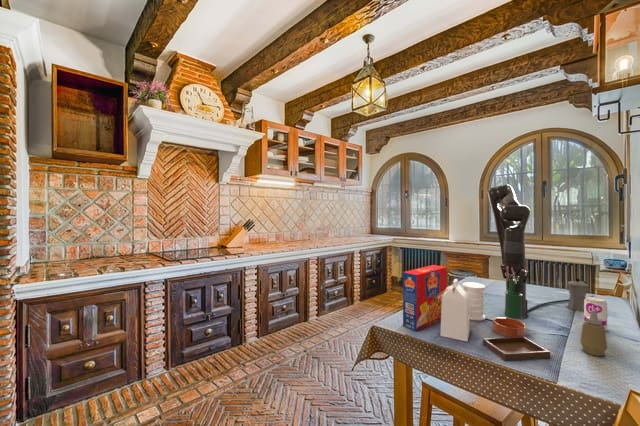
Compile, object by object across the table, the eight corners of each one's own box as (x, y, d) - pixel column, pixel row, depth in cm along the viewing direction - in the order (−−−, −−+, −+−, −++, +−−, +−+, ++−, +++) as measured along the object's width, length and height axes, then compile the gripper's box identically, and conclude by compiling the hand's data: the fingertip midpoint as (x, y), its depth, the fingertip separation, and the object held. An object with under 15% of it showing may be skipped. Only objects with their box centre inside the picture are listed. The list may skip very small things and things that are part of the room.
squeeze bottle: (574, 348, 123) (575, 307, 122) (592, 347, 124) (592, 306, 123) (594, 358, 115) (595, 314, 114) (612, 357, 115) (613, 313, 115)
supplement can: (602, 333, 137) (603, 302, 136) (580, 327, 144) (581, 297, 144) (609, 330, 140) (610, 299, 140) (588, 323, 148) (588, 295, 147)
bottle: (514, 313, 127) (515, 277, 126) (525, 318, 121) (526, 281, 120) (501, 314, 126) (502, 278, 126) (512, 319, 120) (512, 281, 120)
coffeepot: (580, 313, 162) (581, 281, 162) (561, 307, 171) (562, 277, 171) (595, 309, 168) (596, 278, 168) (576, 303, 177) (576, 275, 177)
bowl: (511, 326, 145) (511, 316, 145) (532, 338, 132) (532, 327, 132) (486, 327, 144) (486, 317, 144) (505, 339, 131) (506, 329, 131)
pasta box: (416, 331, 141) (416, 275, 140) (403, 325, 147) (403, 272, 147) (446, 317, 158) (446, 267, 157) (433, 312, 164) (433, 264, 164)
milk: (467, 341, 130) (467, 285, 129) (440, 335, 136) (440, 281, 135) (469, 331, 140) (470, 279, 139) (444, 326, 146) (444, 276, 145)
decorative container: (488, 322, 151) (489, 288, 150) (465, 320, 153) (465, 287, 153) (480, 314, 162) (481, 282, 162) (459, 312, 165) (459, 281, 164)
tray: (523, 341, 129) (523, 336, 129) (550, 358, 115) (550, 351, 115) (482, 344, 127) (482, 338, 127) (504, 360, 114) (504, 354, 114)
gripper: (536, 254, 116) (535, 296, 117) (510, 248, 130) (509, 286, 131) (518, 254, 116) (518, 296, 116) (494, 249, 130) (494, 286, 130)
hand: (513, 290), depth 123 cm, fingers closed on bottle, 3 cm apart
